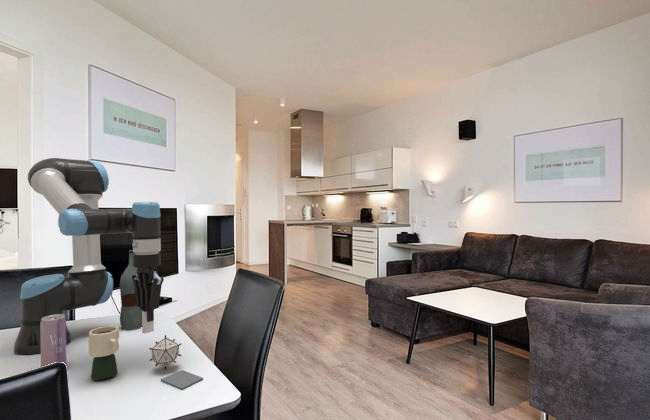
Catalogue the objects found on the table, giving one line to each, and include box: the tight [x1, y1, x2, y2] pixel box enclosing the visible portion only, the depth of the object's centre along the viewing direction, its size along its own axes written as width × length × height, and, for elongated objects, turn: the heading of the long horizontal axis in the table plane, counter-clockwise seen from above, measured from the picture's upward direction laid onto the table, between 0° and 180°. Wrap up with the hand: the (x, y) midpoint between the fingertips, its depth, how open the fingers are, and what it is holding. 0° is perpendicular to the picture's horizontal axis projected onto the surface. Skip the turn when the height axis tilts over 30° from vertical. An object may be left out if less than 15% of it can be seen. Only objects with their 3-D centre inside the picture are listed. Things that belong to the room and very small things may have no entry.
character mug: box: [88, 325, 120, 381], centre depth 100 cm, size 11×7×13 cm, turn 60°
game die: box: [148, 334, 182, 370], centre depth 104 cm, size 9×8×10 cm
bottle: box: [119, 249, 142, 331], centre depth 142 cm, size 9×9×30 cm
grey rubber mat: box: [160, 369, 204, 391], centre depth 97 cm, size 9×7×1 cm
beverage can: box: [40, 313, 67, 368], centre depth 105 cm, size 6×6×15 cm
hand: (148, 331), depth 109 cm, fingers closed
